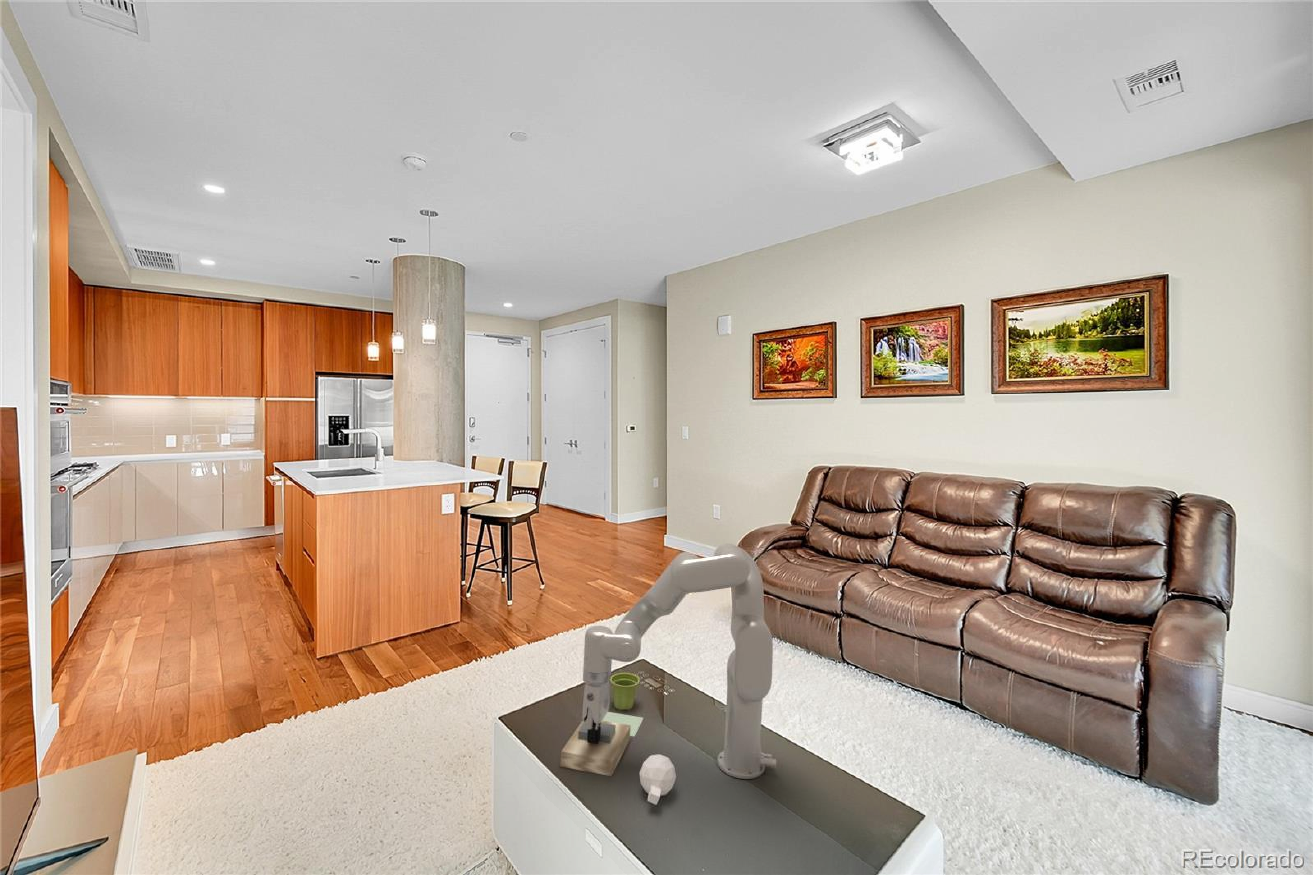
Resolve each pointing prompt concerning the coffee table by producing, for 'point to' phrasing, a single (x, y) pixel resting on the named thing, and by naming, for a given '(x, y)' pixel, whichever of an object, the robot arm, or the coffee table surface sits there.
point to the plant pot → (624, 690)
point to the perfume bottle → (657, 776)
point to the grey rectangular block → (606, 732)
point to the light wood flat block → (596, 751)
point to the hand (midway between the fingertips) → (593, 741)
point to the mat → (625, 721)
